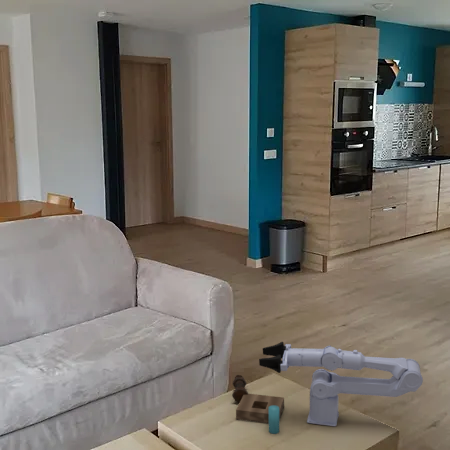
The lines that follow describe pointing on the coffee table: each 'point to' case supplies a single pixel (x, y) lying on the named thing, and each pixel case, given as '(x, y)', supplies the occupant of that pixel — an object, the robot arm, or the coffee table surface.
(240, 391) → the bolt
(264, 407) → the bore block
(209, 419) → the coffee table surface
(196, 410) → the coffee table surface
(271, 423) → the pin
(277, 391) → the coffee table surface
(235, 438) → the coffee table surface
